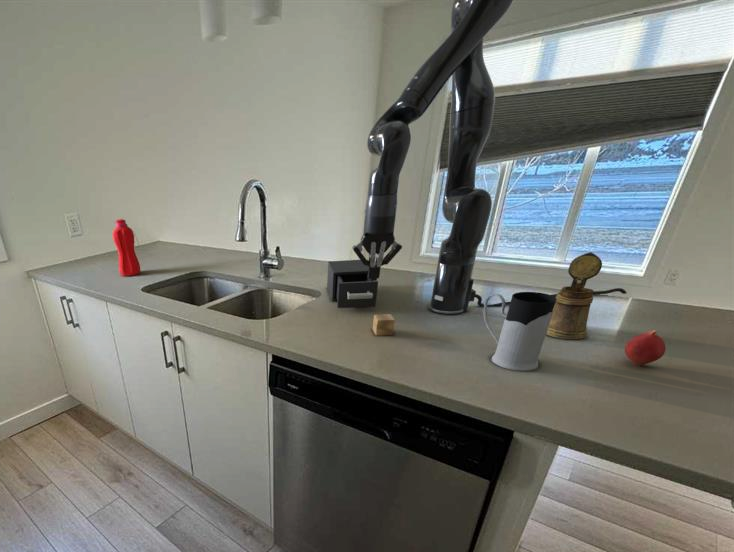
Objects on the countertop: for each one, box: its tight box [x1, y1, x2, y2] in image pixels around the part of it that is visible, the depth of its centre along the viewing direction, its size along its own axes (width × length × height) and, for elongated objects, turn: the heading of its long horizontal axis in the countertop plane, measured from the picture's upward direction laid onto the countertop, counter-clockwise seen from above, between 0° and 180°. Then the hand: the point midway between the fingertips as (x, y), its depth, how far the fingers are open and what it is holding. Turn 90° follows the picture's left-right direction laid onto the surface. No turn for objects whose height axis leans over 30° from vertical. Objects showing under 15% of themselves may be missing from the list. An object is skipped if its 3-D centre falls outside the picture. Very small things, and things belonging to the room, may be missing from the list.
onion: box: [624, 329, 666, 367], centre depth 83 cm, size 6×6×8 cm
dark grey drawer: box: [335, 274, 379, 309], centre depth 129 cm, size 19×12×8 cm, turn 173°
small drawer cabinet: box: [326, 259, 369, 302], centre depth 140 cm, size 16×13×10 cm
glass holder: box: [483, 291, 557, 372], centre depth 89 cm, size 9×14×15 cm, turn 24°
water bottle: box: [112, 218, 141, 277], centre depth 189 cm, size 9×11×25 cm
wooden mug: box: [546, 251, 603, 340], centre depth 98 cm, size 9×14×18 cm, turn 139°
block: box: [372, 313, 395, 336], centre depth 109 cm, size 4×4×4 cm
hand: (373, 280), depth 112 cm, fingers closed
